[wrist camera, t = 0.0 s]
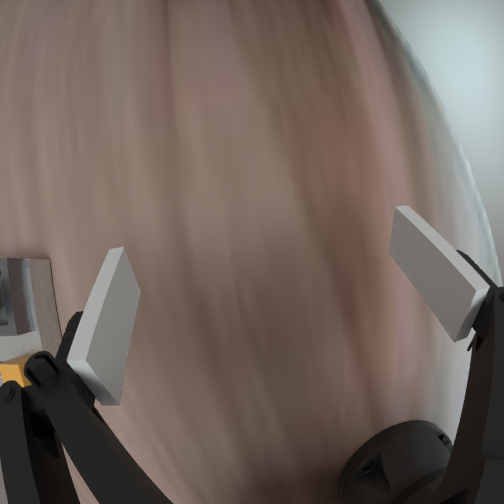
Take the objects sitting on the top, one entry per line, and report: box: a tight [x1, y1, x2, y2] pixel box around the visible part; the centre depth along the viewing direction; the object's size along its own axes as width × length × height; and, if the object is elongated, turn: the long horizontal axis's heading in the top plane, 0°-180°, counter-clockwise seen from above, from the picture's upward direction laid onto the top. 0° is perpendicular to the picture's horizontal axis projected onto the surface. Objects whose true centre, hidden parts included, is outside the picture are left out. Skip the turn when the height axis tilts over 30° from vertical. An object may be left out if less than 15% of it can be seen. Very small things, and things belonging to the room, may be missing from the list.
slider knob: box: [0, 356, 32, 387], centre depth 22 cm, size 3×3×4 cm
